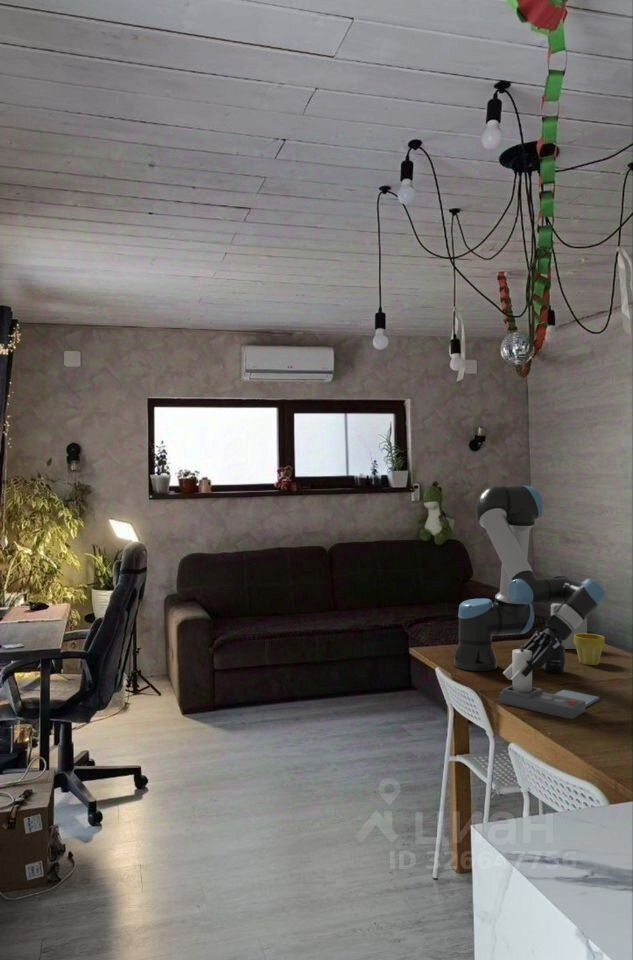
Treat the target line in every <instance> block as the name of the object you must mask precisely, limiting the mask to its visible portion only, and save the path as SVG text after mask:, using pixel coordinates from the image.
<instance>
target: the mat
mask: <svg viewBox="0 0 633 960" xmlns="http://www.w3.org/2000/svg"><path fill="white" fill-rule="evenodd" d="M553 694H554V695H559V696H563V697H568V698H573V699H578V700H582V701H585V708H587V707H588V706H591V705H592V704H594V703H596V702H598V701H599V700H600V696H596V695H591V694H586V693H582V692H576V691H572V690H566V689H561V690H560V691H558V692H556V693H553Z"/></svg>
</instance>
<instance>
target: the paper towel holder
mask: <svg viewBox="0 0 633 960" xmlns="http://www.w3.org/2000/svg"><path fill="white" fill-rule="evenodd" d="M511 655H512V657H511V659H512V660H511V661H512V662H511V664H512V677H513V676H514V675H515V674H516V673H517V671H518V670H519V669H520V668H521V667H522V666H523V665H524V664H525V663H527V662H526V661H530V659H531V658H532V656H533V655H532V651H530V650H525V649H524V646H523V645H520V646H519V648H516V649H512V653H511ZM527 664H528V663H527ZM528 665H529V664H528ZM511 683H512V684H511V685H512V691H516V692H521V693H526V694H529V693H531V692H532V687H533V670H532V671H531V672H530V673H529V675H528V676H527V677H526V678H525V679H524V680H523V681H522V682H521V683H520V684H519V685H518V686H517V685H516V684H515V683H514V682H513V681H512V680H511Z"/></svg>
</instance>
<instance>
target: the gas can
mask: <svg viewBox="0 0 633 960" xmlns="http://www.w3.org/2000/svg"><path fill="white" fill-rule="evenodd" d="M562 604H563V603H559V602H557V603H551V604H550V617H551V616H552V615H555V614H554V612H555V611H556V610H557V609H558V608H559V607H560V606H561V605H562ZM581 633H586V634H588V617H587V618H586V619H585V620H584V621H583V622H582V623H581V624H580V626H579V627H577V628H576V629H575V630H572V634H571V635H570V636H569V637H568V638H567V639H566V640H562V645H563V646H564V647H565V649H576V650H575V651H577V648H576V645H575V644H574V635H575V634H581Z"/></svg>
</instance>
